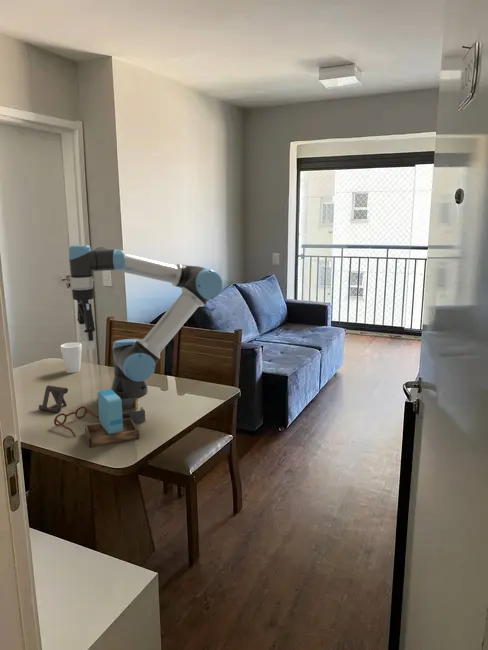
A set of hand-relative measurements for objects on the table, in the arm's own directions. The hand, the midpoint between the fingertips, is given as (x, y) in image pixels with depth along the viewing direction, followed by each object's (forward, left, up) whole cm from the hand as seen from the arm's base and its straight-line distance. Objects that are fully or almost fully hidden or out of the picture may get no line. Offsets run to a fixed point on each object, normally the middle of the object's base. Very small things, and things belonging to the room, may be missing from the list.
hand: (87, 344), depth 180 cm
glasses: (+5, +13, -27) cm, 30 cm away
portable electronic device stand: (+13, -8, -27) cm, 31 cm away
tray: (-3, +25, -26) cm, 37 cm away
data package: (-3, +25, -23) cm, 35 cm away
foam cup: (+2, -54, -27) cm, 60 cm away
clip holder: (-12, +10, -26) cm, 31 cm away
